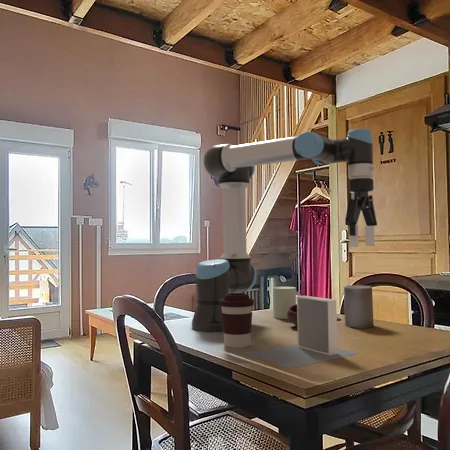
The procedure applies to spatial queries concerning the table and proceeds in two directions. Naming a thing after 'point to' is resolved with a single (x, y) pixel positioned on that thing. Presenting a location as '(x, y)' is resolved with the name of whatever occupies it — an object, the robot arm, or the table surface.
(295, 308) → the bowl
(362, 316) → the pillar candle
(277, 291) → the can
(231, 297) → the coffee cup
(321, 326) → the tile
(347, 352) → the mat
